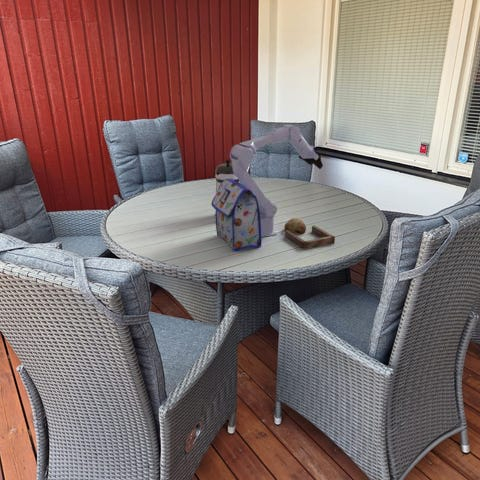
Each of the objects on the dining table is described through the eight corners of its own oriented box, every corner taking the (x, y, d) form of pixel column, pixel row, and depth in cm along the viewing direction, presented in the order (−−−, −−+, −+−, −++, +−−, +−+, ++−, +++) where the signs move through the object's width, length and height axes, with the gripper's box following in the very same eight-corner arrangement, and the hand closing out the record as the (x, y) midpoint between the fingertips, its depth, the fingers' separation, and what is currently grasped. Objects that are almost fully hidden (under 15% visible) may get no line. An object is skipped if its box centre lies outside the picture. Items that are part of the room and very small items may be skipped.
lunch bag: (210, 235, 184) (208, 178, 174) (242, 230, 190) (242, 175, 180) (228, 254, 165) (227, 191, 155) (264, 247, 171) (265, 187, 161)
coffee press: (242, 222, 200) (241, 162, 189) (211, 220, 203) (209, 161, 192) (248, 211, 216) (248, 156, 204) (219, 209, 219) (218, 155, 207)
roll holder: (303, 249, 169) (303, 242, 168) (285, 236, 182) (285, 230, 181) (334, 243, 175) (335, 236, 174) (314, 231, 188) (314, 225, 187)
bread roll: (287, 241, 186) (290, 229, 181) (280, 226, 193) (283, 214, 187) (306, 239, 189) (310, 227, 183) (299, 224, 195) (302, 212, 190)
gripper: (316, 142, 173) (331, 162, 181) (298, 136, 185) (313, 155, 193) (305, 154, 173) (321, 174, 181) (288, 147, 185) (303, 166, 193)
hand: (316, 165), depth 187 cm, fingers open, 7 cm apart
